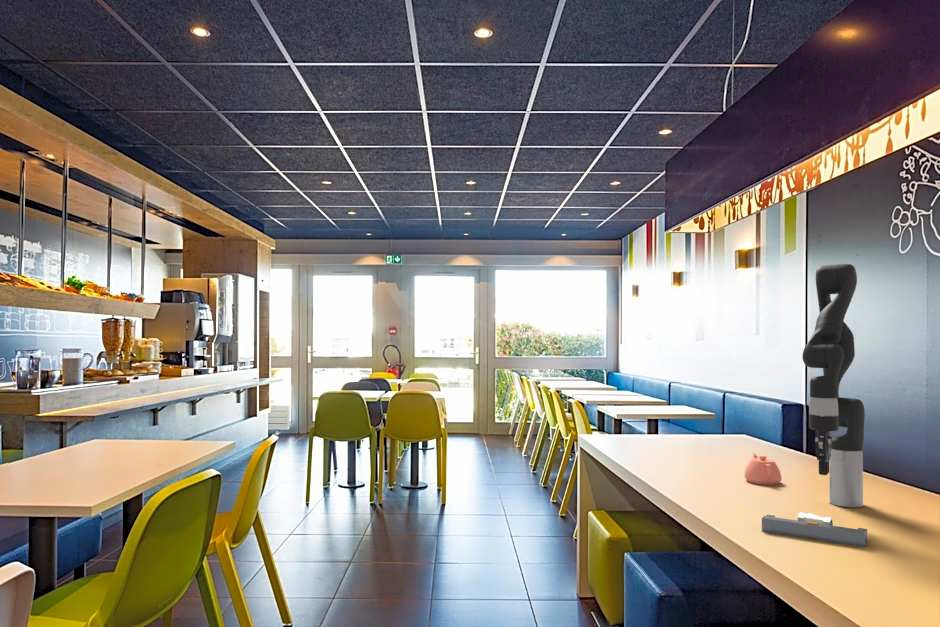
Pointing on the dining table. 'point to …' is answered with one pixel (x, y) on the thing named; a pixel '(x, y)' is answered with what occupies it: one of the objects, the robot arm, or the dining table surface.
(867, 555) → the dining table surface
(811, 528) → the stop bracket
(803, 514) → the pipe fitting
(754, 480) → the pink rounded piece
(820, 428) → the robot arm
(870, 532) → the dining table surface
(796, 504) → the dining table surface
